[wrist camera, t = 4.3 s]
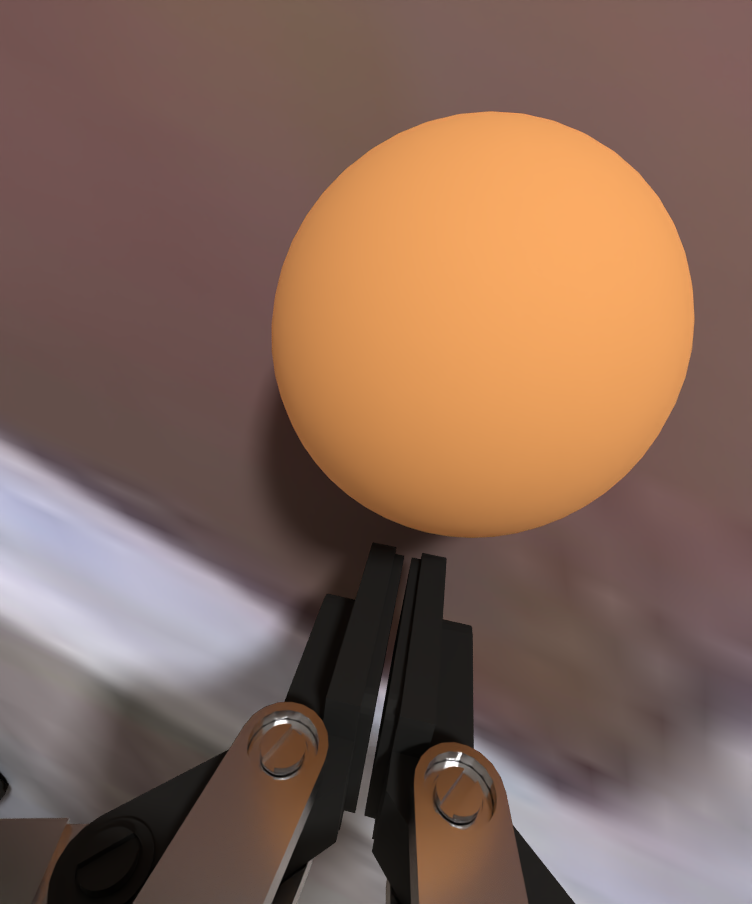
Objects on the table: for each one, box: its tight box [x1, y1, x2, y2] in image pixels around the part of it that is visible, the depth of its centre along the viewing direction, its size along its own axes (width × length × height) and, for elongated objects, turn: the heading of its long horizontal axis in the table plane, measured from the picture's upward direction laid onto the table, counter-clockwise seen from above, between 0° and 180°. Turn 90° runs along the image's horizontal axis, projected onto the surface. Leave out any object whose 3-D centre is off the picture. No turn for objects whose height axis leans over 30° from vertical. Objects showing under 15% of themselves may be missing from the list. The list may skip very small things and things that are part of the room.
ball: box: [272, 111, 694, 538], centre depth 7 cm, size 6×6×6 cm
